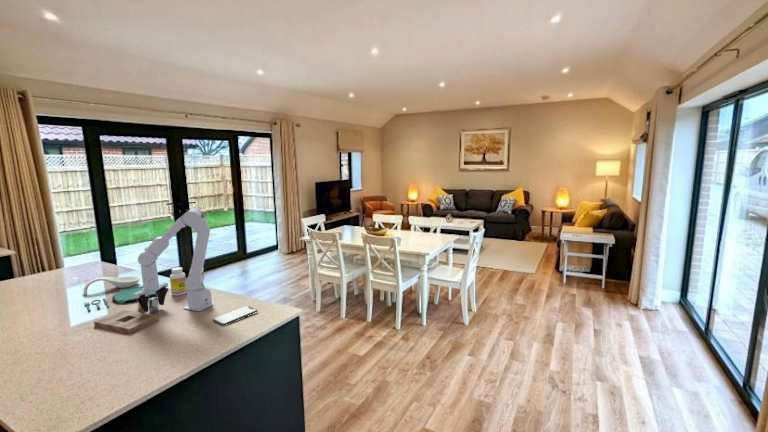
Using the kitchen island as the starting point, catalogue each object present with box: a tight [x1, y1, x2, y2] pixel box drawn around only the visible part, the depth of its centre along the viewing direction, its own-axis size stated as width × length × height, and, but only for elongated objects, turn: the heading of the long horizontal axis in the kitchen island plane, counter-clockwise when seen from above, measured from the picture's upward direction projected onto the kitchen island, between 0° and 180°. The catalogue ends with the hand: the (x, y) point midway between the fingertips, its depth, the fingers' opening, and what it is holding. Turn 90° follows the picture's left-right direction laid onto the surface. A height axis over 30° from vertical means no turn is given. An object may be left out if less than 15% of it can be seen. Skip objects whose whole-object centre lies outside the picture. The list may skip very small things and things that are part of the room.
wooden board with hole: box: [93, 309, 160, 335], centre depth 147 cm, size 20×12×2 cm, turn 71°
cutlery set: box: [84, 285, 157, 313], centre depth 174 cm, size 20×30×2 cm, turn 134°
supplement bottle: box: [169, 266, 187, 297], centre depth 179 cm, size 7×7×13 cm
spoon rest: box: [83, 276, 141, 296], centre depth 187 cm, size 24×12×7 cm, turn 132°
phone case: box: [212, 305, 258, 326], centre depth 153 cm, size 9×2×16 cm
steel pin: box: [148, 296, 160, 314], centre depth 158 cm, size 4×4×6 cm
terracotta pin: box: [137, 295, 146, 311], centre depth 162 cm, size 4×4×6 cm
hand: (153, 307), depth 158 cm, fingers open, 7 cm apart
